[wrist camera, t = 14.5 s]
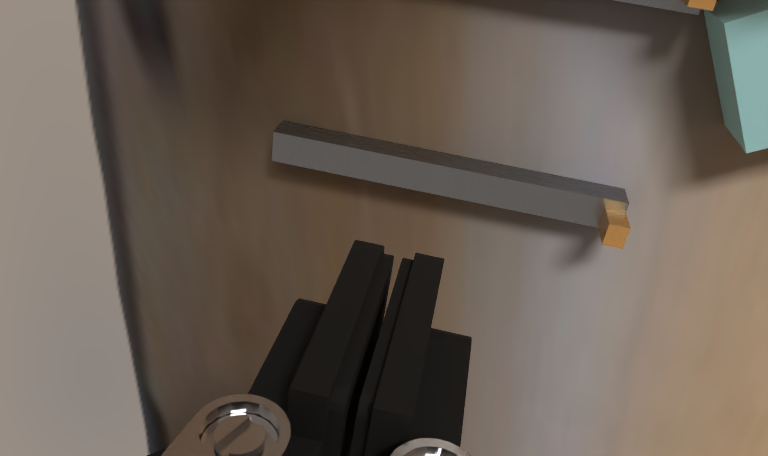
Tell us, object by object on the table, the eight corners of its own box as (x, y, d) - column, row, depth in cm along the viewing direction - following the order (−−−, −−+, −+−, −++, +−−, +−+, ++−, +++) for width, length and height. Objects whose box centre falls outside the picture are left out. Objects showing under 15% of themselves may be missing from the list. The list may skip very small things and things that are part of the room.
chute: (296, -101, 36) (273, -96, 33) (704, -32, 34) (724, -20, 31) (281, 149, 44) (261, 173, 40) (614, 216, 42) (622, 248, 38)
